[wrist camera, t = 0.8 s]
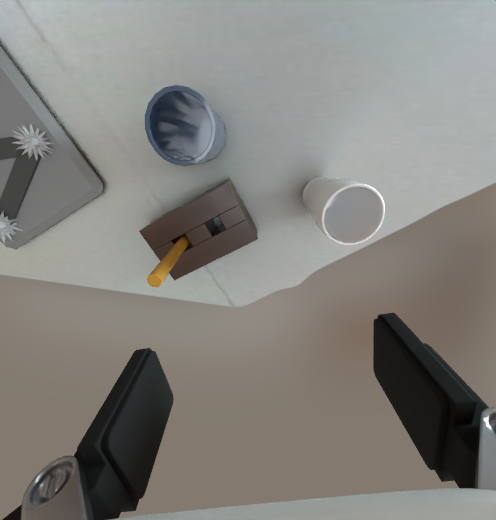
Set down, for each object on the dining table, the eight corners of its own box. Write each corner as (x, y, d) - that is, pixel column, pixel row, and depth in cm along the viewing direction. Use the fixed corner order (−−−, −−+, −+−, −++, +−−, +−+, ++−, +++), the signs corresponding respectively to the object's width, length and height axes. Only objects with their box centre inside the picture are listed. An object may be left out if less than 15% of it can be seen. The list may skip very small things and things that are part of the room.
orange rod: (183, 232, 43) (144, 278, 27) (191, 227, 43) (155, 272, 27) (188, 239, 44) (152, 289, 28) (196, 235, 43) (164, 283, 28)
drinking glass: (294, 213, 41) (315, 244, 28) (300, 170, 39) (327, 180, 25) (335, 216, 42) (376, 248, 28) (344, 173, 39) (394, 185, 25)
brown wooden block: (150, 222, 42) (138, 231, 38) (229, 178, 39) (227, 182, 35) (182, 267, 46) (174, 280, 41) (257, 229, 43) (257, 239, 38)
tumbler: (167, 123, 36) (130, 110, 25) (209, 95, 35) (190, 69, 24) (194, 170, 39) (171, 177, 28) (235, 145, 38) (228, 143, 27)
